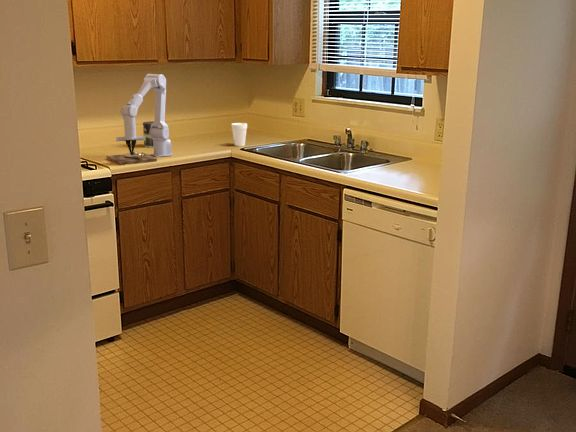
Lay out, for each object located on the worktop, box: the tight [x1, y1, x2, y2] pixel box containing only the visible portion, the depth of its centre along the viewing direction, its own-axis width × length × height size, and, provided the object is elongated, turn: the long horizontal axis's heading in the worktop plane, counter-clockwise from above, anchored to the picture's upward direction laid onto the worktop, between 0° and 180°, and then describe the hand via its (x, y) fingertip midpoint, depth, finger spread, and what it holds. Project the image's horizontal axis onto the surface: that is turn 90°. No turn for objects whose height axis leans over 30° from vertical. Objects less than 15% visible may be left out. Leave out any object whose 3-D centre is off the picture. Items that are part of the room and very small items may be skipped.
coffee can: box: [142, 120, 155, 149], centre depth 367 cm, size 10×10×14 cm
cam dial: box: [124, 151, 144, 159], centre depth 327 cm, size 14×10×3 cm
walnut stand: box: [106, 152, 158, 166], centre depth 327 cm, size 20×20×4 cm
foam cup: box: [231, 122, 248, 147], centre depth 373 cm, size 10×9×13 cm
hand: (131, 154), depth 322 cm, fingers closed
